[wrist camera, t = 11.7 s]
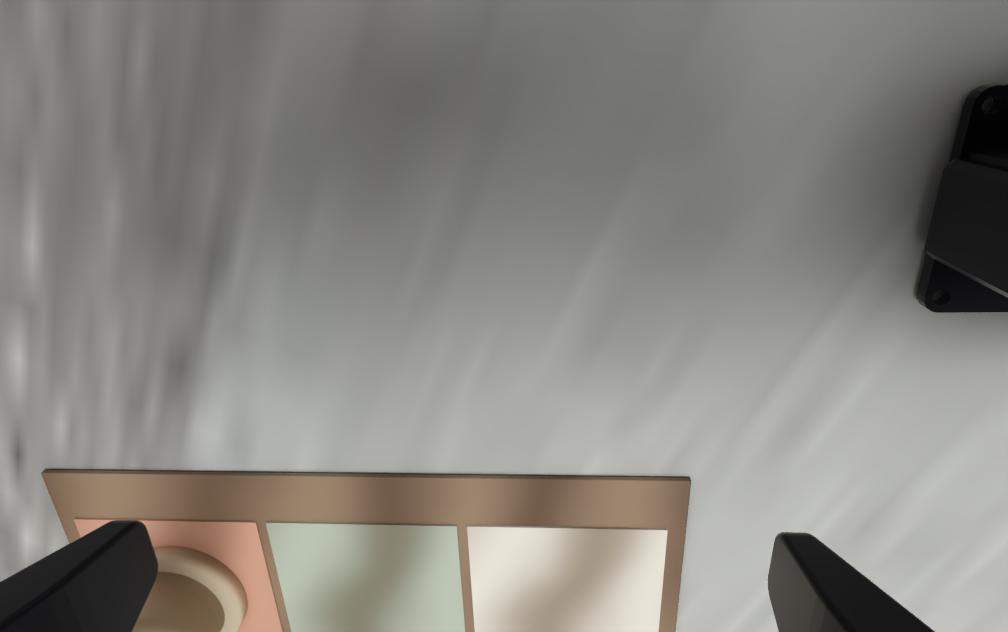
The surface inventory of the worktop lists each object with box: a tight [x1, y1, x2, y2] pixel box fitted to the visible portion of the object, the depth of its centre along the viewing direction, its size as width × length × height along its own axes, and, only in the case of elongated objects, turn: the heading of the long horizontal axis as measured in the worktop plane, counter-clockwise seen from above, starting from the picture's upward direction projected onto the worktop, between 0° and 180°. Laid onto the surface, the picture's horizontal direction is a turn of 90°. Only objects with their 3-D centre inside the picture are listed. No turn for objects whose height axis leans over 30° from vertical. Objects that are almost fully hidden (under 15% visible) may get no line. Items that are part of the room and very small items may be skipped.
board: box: [41, 470, 691, 632], centre depth 25 cm, size 25×12×1 cm, turn 92°
